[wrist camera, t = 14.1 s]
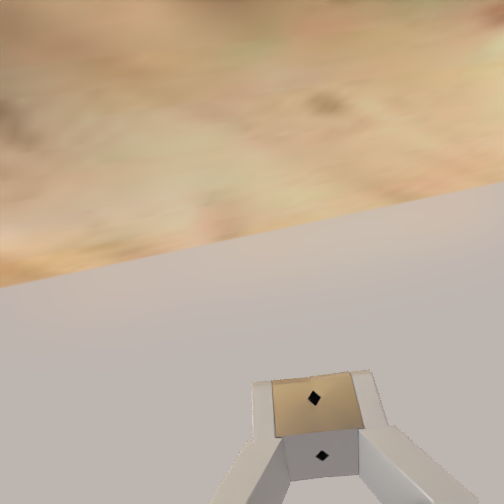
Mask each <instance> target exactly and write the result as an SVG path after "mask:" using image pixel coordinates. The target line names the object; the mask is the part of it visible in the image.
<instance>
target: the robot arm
mask: <svg viewBox="0 0 504 504" xmlns="http://www.w3.org/2000/svg"><path fill="white" fill-rule="evenodd" d="M251 396H252V430H253V431H252V432H253V440H252V441H247V442H246V444H245V445H244V447H243V449H242V450H241V452H240V453H239V455H238V456H237V458H236V460H235V461H234V463H233V465H232V466H231V468H230V469H229V471H228V472H227V474H226V476H225V477H224V479H223V480H222V482H221V484H220V485H219V487H218V489H217V490H216V492H215V493H214V495H213V497H212V498H211V500H210V502H209V503H208V504H282V502H283V500H284V497H285V495H286V493H287V490H288V488H289V486H290V482H291V481H299V480H307V479H314V478H322V477H334V476H349V475H359V477H360V478H361V479H362V480H363V482H364V483H365V484H366V485H367V486H368V488H369V489H370V490H371V491H372V493H373V494H374V495H375V496H376V497H377V499H378V500H379V501H380V502H381V503H382V504H480V502H479V500H478V498H477V497H476V496H475V495H474V494H472V493H471V492H470V491H469V490H468V489H467V488H465V487H464V486H463V485H462V484H461V483H460V482H459V481H458V480H456V479H455V478H454V477H453V476H452V475H451V474H449V473H448V472H447V471H446V470H445V469H444V468H443V467H442V466H440V465H439V464H438V463H437V462H436V461H435V460H434V459H432V458H431V457H430V456H429V455H428V454H427V453H425V452H424V451H423V450H422V449H421V448H420V447H419V446H418V445H417V444H415V443H414V442H413V441H412V440H411V439H410V438H409V437H407V436H406V435H405V434H404V433H403V432H401V431H400V430H399V429H398V428H397V427H396V426H389V425H388V422H387V419H386V416H385V412H384V409H383V406H382V403H381V400H380V397H379V393H378V390H377V387H376V384H375V381H374V378H373V375H372V373H371V371H370V370H362V371H353V372H341V373H334V374H325V375H318V376H311V377H306V378H295V379H283V380H273V381H264V382H263V381H262V382H252V388H251Z"/></svg>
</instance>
